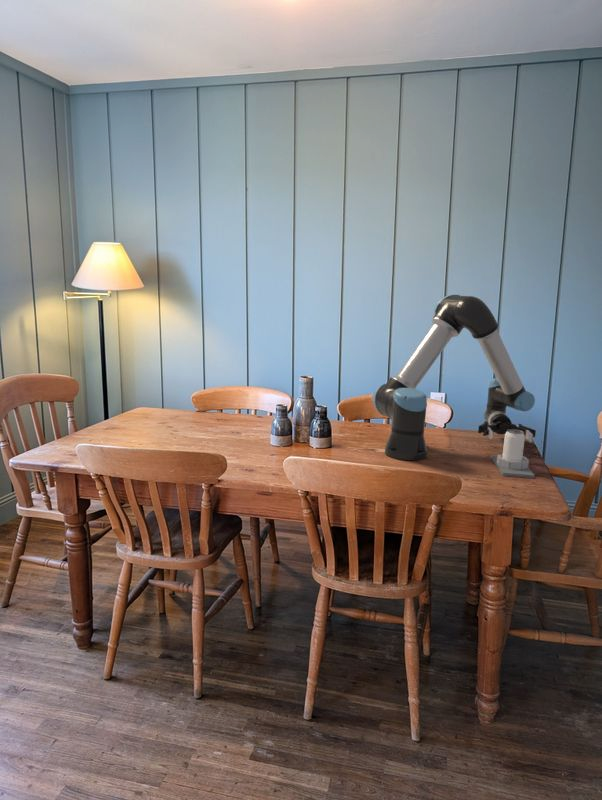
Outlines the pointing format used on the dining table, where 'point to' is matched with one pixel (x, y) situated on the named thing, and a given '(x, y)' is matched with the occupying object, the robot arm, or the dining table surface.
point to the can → (513, 445)
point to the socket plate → (513, 467)
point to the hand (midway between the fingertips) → (511, 437)
